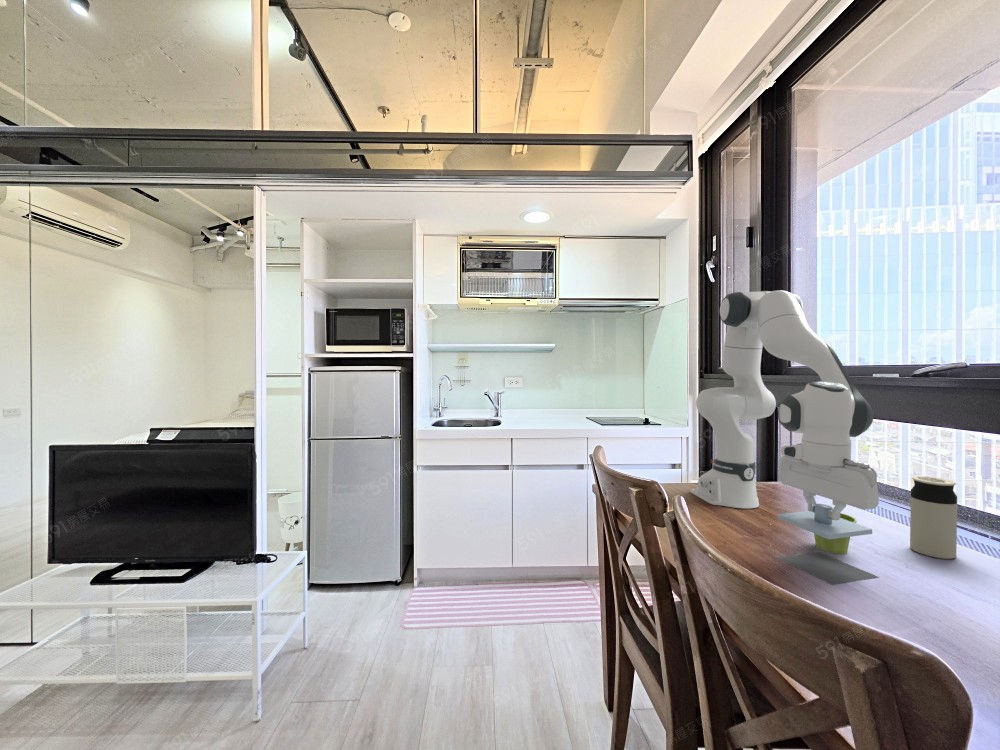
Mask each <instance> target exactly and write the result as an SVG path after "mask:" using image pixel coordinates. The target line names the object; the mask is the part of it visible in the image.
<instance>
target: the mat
mask: <svg viewBox="0 0 1000 750" xmlns="http://www.w3.org/2000/svg"><path fill="white" fill-rule="evenodd" d="M777 560H781V561H782V562H784V563H786V564H788V565H791V566H792V567H794V568H796V569H798V570H800V571H803V572H805V573H807V574H809V575H811V576H813V577H815V578H817V579H818V580H821V581H822V582H826V583H828V584H830V585H832V586H835V585H839V584H840V585H841V584H847V583H854V582H860V581H864V580H872V579H878V578H880V576H878V575H875V574H872V573H870V572H868V571H866V570H863V569H861V568H858V567H856V566H854V565H851V564H849V563H847V562H844V561H842V560H839V559H837V558H835V557H832V556H830V555H827V554H825V553H823V552H820V551H817V552H809V553H802V554H801V553H800V554H796V555H795V554H794V555H788V556H786V555H785V556H780V557H779V556H778V557H777Z"/></svg>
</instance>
